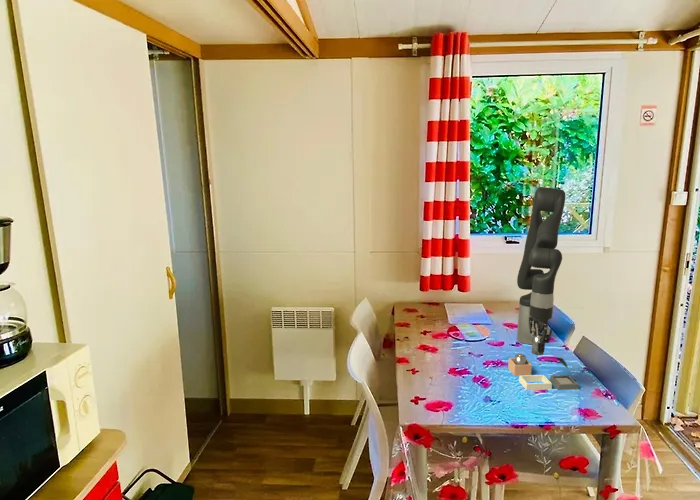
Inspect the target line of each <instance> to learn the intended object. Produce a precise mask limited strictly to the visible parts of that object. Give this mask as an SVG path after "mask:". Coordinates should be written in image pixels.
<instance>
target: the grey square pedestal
mask: <svg viewBox="0 0 700 500" xmlns="http://www.w3.org/2000/svg"><path fill="white" fill-rule="evenodd" d="M555 378H568V379H569V380H570V381H571V382H572V384H560V383H559V382H558V381H557V380H556V379H555ZM548 380H549V381H550V382H551V383H552V386H553V387H554V388H555V389H556V390H557V391H563V390H565V391H566V390H568V391H569V390H572V391H573V390H580V387H579V383H577V381H575V379H573V378H572V377H571V376H570V375H567V374H566V375H550V376H549V379H548Z"/></svg>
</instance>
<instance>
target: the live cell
mask: <svg viewBox="0 0 700 500" xmlns="http://www.w3.org/2000/svg"><path fill="white" fill-rule="evenodd" d="M541 337H542V336H541ZM537 349H538V336H537V334H534V335H533V342H532V344H531V353H532V355H535V356H543V355H544V354H545V352H544V353H539V352H538V351H537Z"/></svg>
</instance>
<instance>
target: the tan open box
mask: <svg viewBox="0 0 700 500" xmlns="http://www.w3.org/2000/svg"><path fill="white" fill-rule="evenodd" d="M507 366H508V367H507V369H508V370H509V372H510V373H512V375H513V376H514V377H516V376H517V377H519V376H523V375H532V367H533V365H532V364H531V363H530V361H529V360H528V359H526V364H525V365H516V364H515V357H513V358H511V357H510V358H508V364H507Z"/></svg>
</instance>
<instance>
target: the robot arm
mask: <svg viewBox="0 0 700 500" xmlns="http://www.w3.org/2000/svg"><path fill="white" fill-rule="evenodd" d="M565 204H566V192H565V190H563V189H561V188H555V187H545V186H538V187H537V188H536V190H535V193H534V195H533V201H532V208H531V217H530V222H529V226H528V227H529V228H528V230H527V235H526V239H525V242H524V243H525V245H524V252H523V257H522V260H521V264H520V266H519V271H518V274H517V278H516V284H517V286H518V288H519V289H520V290H525V291H527V290H529V291H531V292H529V293H527V294H524V295H521V296H520V297H519V301H518V302H519V305H518V319H517V331H516V335H517V336H516V340H517V342H519V343H521V344H524V345H525V344H526V345H532V342H533V335H534V334H537V336H538V349H537V351H538V352H539V353H544V354H545V348H546V344H549V343H550V339H551V336H552V333H553V330H552V328H549V323H548V322H549V320H551V319H552V318H553V311H554V298H555V297H554V290H555V281H556V277H557V273H558V271H559V269H560V267H561V265H562V260H563V254H562V252H561V250H560V249H557V246H558V240H559V230H560V229H559V228H560V224H561V221H562V217H563V212H564V209H565ZM542 212H548V213H551V214H550V215H549V216H548V217H547V218H546V219H543V217H542ZM543 269H545V270H546V269H548V271H547V272H545V273H544V270H543ZM541 336H542V337H541Z"/></svg>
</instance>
